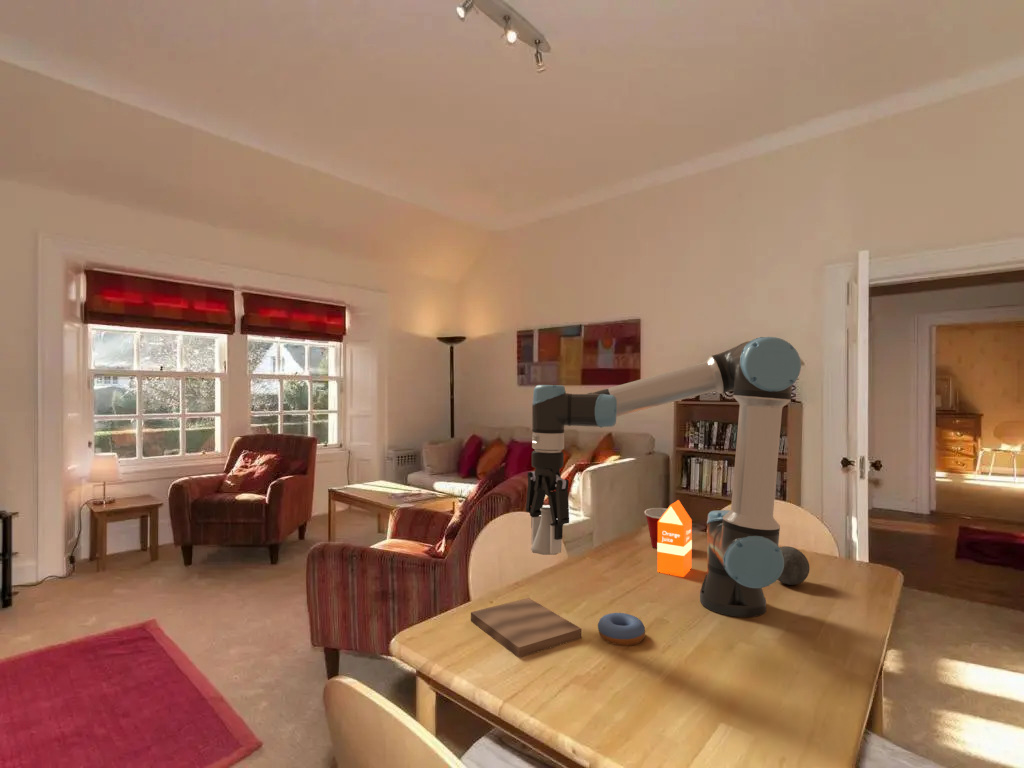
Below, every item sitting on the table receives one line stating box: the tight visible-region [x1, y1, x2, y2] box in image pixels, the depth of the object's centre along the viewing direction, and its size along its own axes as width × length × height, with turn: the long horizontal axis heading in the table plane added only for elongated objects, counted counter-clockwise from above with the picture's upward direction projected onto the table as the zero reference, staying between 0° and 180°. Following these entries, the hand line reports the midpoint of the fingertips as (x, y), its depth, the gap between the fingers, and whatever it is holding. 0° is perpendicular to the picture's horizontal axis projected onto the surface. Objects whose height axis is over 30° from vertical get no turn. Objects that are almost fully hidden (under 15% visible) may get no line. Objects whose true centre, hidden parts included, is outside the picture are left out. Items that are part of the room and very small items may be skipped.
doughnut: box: [597, 612, 646, 647], centre depth 118 cm, size 10×10×5 cm
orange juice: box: [656, 499, 693, 578], centre depth 160 cm, size 8×9×20 cm
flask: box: [530, 507, 559, 556], centre depth 129 cm, size 7×7×10 cm
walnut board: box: [470, 597, 582, 659], centre depth 121 cm, size 20×16×2 cm
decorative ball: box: [776, 545, 810, 586], centre depth 150 cm, size 10×10×10 cm
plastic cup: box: [644, 507, 668, 550], centre depth 183 cm, size 11×11×12 cm
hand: (546, 548), depth 129 cm, fingers closed on flask, 7 cm apart
